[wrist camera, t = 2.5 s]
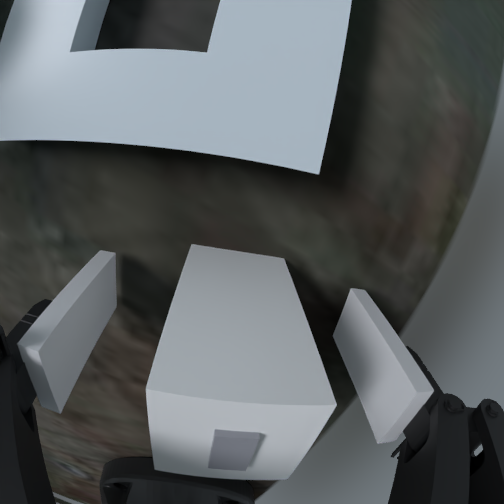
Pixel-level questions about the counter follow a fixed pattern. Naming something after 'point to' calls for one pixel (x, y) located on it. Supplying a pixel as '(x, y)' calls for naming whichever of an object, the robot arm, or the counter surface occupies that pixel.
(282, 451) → the block
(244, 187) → the counter surface
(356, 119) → the counter surface
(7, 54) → the outlet board
